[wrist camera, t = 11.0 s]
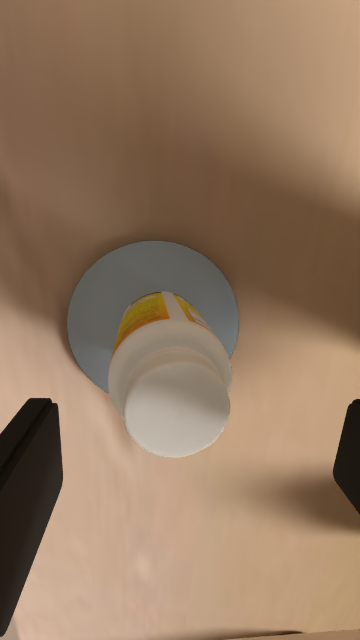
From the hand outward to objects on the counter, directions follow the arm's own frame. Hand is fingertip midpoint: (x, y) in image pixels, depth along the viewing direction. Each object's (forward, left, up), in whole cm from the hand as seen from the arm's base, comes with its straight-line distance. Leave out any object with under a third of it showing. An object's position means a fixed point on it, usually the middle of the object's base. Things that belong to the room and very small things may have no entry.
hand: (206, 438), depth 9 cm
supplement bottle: (0, +1, -12) cm, 12 cm away
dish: (+1, +1, -13) cm, 13 cm away
